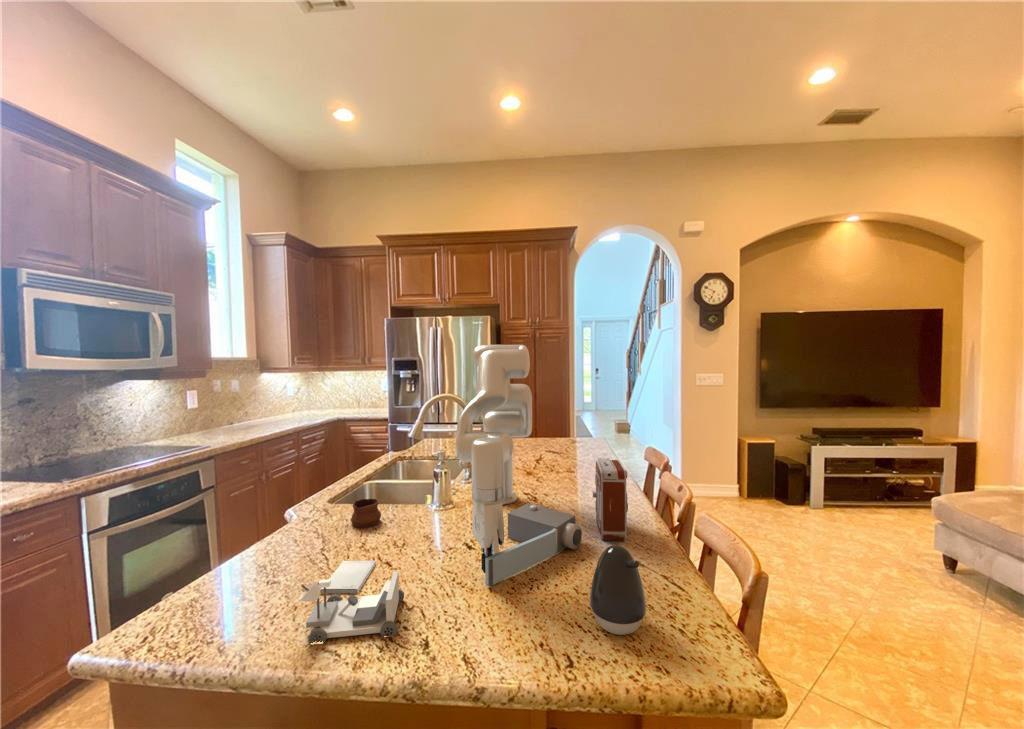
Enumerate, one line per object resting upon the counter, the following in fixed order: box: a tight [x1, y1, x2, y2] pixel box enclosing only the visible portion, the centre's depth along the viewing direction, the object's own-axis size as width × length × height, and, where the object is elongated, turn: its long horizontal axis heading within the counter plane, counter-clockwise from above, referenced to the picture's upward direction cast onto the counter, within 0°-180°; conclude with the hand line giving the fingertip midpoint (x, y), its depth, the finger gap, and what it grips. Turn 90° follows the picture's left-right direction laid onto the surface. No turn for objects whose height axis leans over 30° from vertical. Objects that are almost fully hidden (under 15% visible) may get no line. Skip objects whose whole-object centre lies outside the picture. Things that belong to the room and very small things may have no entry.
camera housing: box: [507, 502, 583, 555], centre depth 114 cm, size 20×10×8 cm, turn 52°
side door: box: [484, 529, 558, 588], centre depth 98 cm, size 23×2×6 cm, turn 131°
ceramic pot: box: [334, 498, 382, 533], centre depth 127 cm, size 18×18×7 cm
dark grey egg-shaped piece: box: [589, 543, 647, 636], centre depth 78 cm, size 10×10×15 cm
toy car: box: [298, 571, 405, 644], centre depth 80 cm, size 18×10×12 cm
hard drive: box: [319, 560, 377, 594], centre depth 96 cm, size 2×8×12 cm
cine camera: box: [592, 457, 629, 542], centre depth 121 cm, size 9×19×20 cm, turn 174°
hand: (489, 570), depth 96 cm, fingers closed
